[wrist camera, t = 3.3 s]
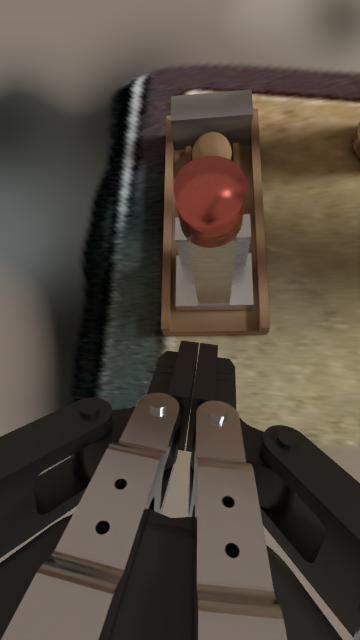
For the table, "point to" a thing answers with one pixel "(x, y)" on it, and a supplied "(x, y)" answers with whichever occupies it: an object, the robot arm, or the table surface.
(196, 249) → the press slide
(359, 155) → the sauce bottle
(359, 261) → the table surface
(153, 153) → the table surface
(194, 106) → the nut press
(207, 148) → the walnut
